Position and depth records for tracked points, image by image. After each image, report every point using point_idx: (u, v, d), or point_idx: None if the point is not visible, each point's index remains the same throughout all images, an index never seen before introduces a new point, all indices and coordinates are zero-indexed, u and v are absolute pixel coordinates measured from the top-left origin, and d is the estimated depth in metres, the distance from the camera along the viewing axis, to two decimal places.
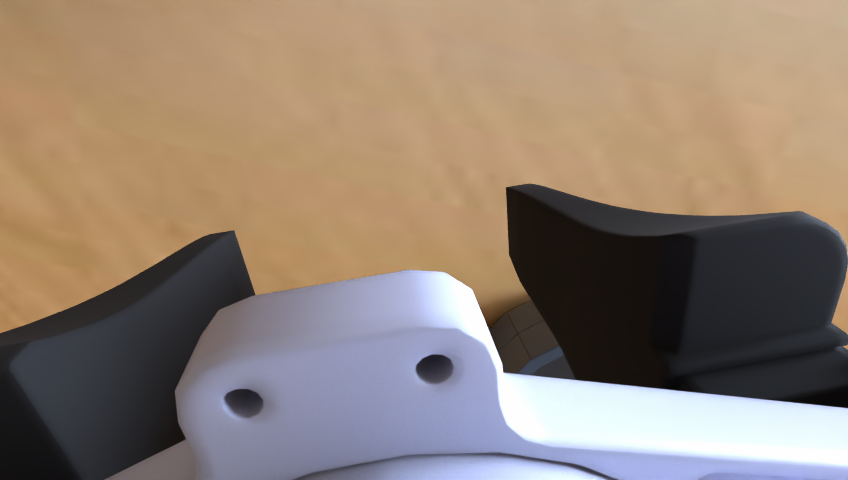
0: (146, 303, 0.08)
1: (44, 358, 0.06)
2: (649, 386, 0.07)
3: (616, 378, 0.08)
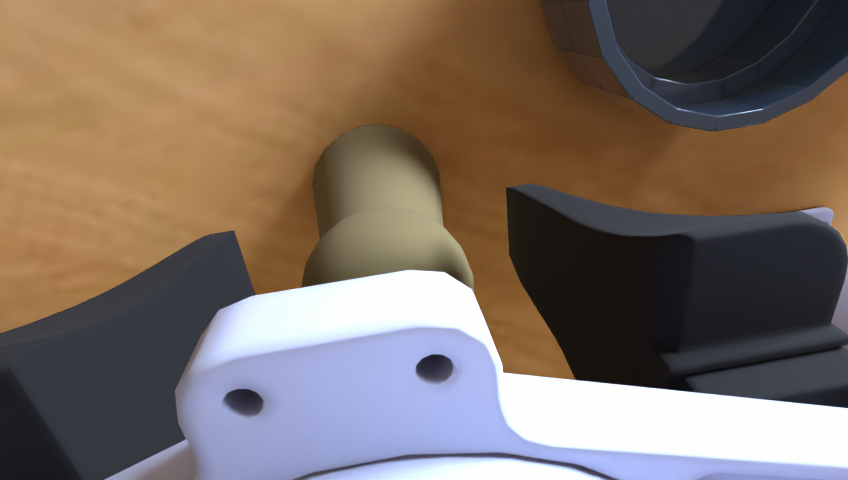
0: (147, 302, 0.08)
1: (44, 358, 0.06)
2: (649, 386, 0.07)
3: (616, 378, 0.08)
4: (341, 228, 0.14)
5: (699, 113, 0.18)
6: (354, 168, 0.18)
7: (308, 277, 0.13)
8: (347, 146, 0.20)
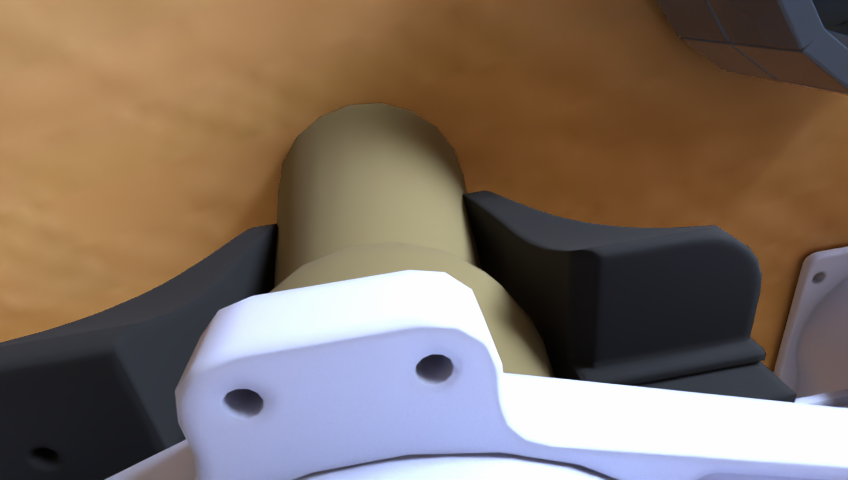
0: (213, 292, 0.08)
1: (140, 342, 0.06)
2: None
3: None
4: None
5: None
6: (333, 166, 0.11)
7: None
8: (327, 133, 0.13)
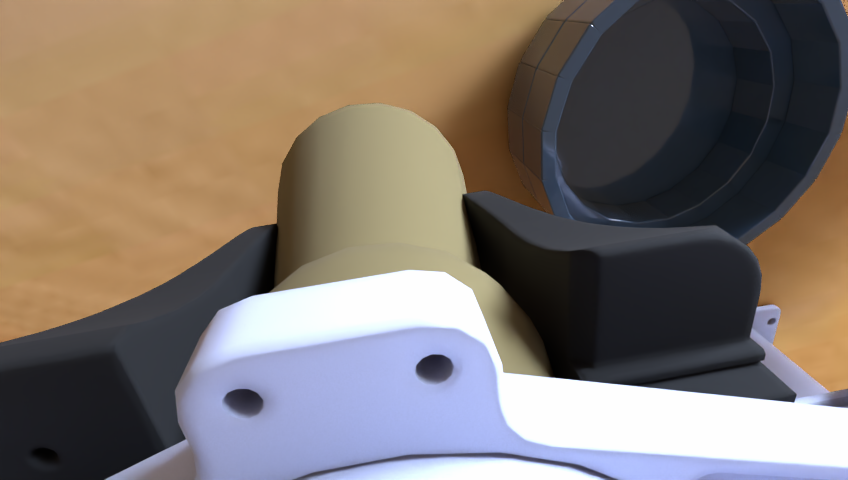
0: (213, 292, 0.08)
1: (140, 341, 0.06)
2: None
3: None
4: None
5: None
6: (333, 166, 0.11)
7: None
8: (326, 133, 0.13)
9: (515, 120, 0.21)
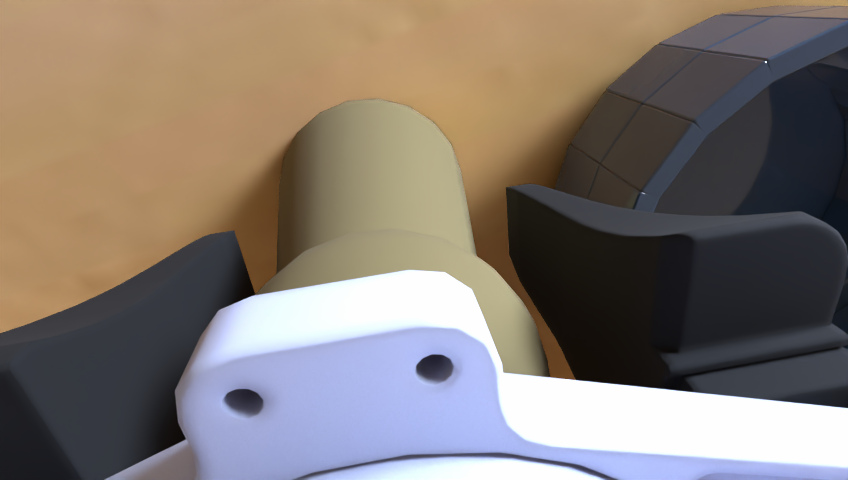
0: (146, 303, 0.08)
1: (44, 358, 0.06)
2: (649, 386, 0.07)
3: (616, 378, 0.08)
4: (294, 275, 0.07)
5: None
6: (334, 159, 0.12)
7: None
8: (327, 128, 0.14)
9: None
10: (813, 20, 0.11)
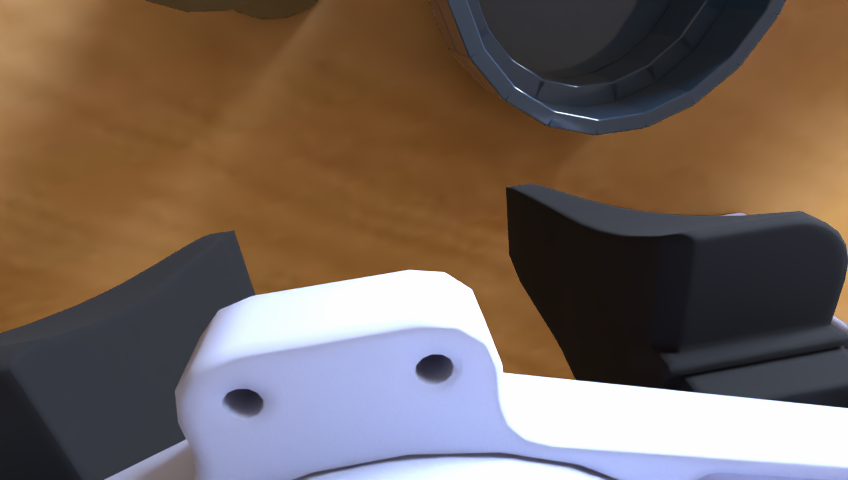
0: (147, 303, 0.08)
1: (44, 358, 0.06)
2: (649, 386, 0.07)
3: (616, 378, 0.08)
4: None
5: (578, 116, 0.18)
6: None
7: None
8: None
9: None
10: None
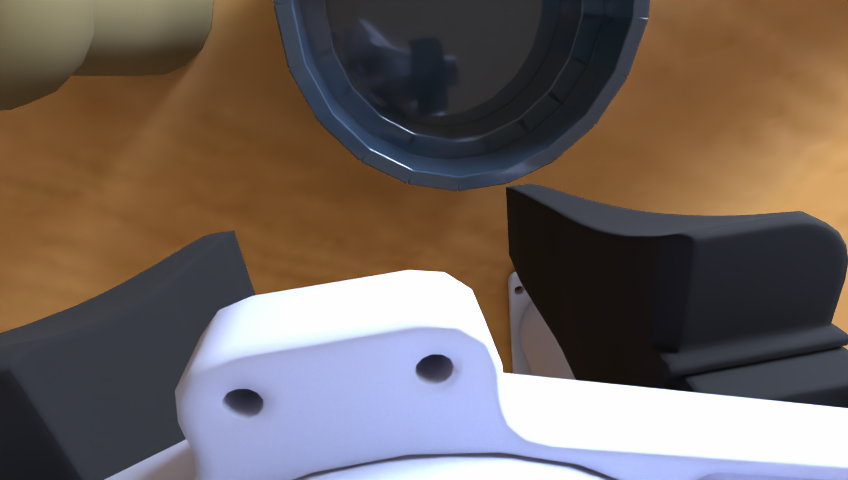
0: (146, 302, 0.08)
1: (44, 357, 0.06)
2: (649, 386, 0.07)
3: (616, 378, 0.08)
4: None
5: (437, 174, 0.18)
6: None
7: None
8: None
9: None
10: None
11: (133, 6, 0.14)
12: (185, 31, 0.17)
